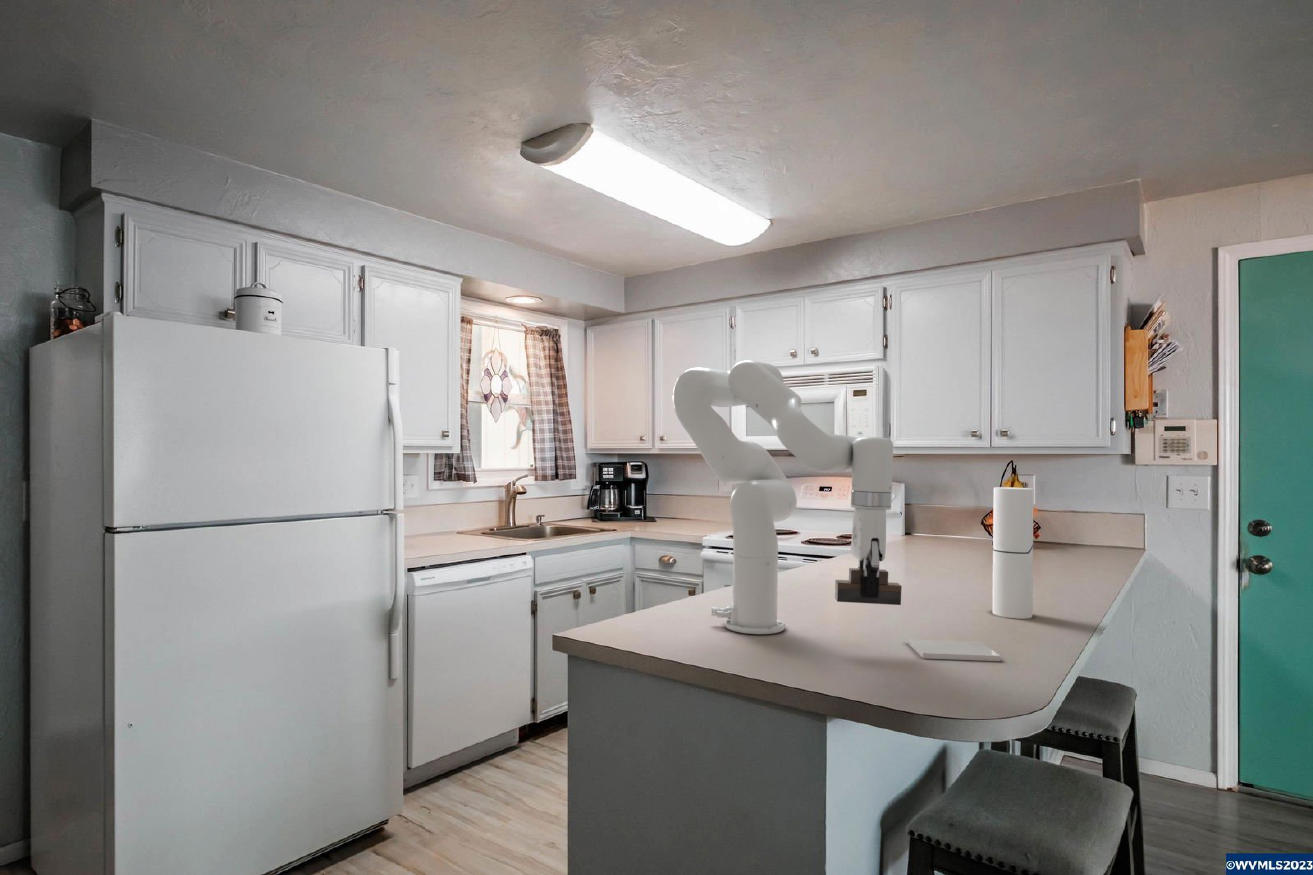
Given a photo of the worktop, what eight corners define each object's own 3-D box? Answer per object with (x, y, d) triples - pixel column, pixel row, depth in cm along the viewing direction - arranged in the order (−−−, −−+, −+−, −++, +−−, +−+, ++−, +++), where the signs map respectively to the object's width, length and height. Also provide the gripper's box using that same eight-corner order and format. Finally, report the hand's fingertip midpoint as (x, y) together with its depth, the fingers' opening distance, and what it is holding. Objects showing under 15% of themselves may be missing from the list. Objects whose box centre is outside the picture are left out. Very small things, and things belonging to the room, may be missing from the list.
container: (1023, 611, 180) (1024, 487, 180) (1038, 619, 171) (1039, 489, 172) (987, 609, 181) (988, 486, 181) (1000, 618, 172) (1001, 488, 172)
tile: (922, 658, 137) (922, 653, 137) (908, 644, 147) (908, 639, 147) (1000, 661, 136) (1000, 656, 136) (981, 646, 146) (981, 641, 146)
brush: (837, 601, 143) (838, 569, 143) (834, 598, 146) (835, 566, 146) (900, 605, 142) (902, 572, 142) (897, 601, 145) (898, 570, 145)
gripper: (844, 496, 152) (840, 585, 152) (859, 503, 136) (855, 603, 136) (881, 498, 151) (878, 587, 151) (901, 505, 135) (897, 606, 135)
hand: (867, 594), depth 144 cm, fingers closed on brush, 3 cm apart
